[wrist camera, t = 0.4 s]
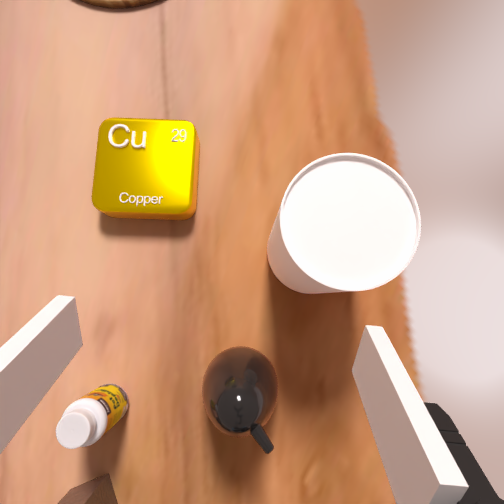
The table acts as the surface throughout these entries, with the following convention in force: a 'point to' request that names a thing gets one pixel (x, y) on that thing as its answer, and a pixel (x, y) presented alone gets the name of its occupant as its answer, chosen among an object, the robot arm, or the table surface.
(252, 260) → the table surface
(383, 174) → the canister
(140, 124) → the element tile
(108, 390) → the supplement bottle
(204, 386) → the pump dispenser
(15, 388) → the robot arm
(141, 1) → the wooden plate with food
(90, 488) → the plane body
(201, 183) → the table surface
